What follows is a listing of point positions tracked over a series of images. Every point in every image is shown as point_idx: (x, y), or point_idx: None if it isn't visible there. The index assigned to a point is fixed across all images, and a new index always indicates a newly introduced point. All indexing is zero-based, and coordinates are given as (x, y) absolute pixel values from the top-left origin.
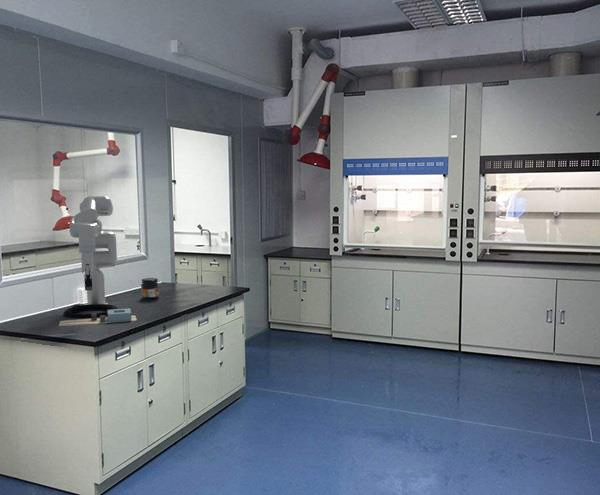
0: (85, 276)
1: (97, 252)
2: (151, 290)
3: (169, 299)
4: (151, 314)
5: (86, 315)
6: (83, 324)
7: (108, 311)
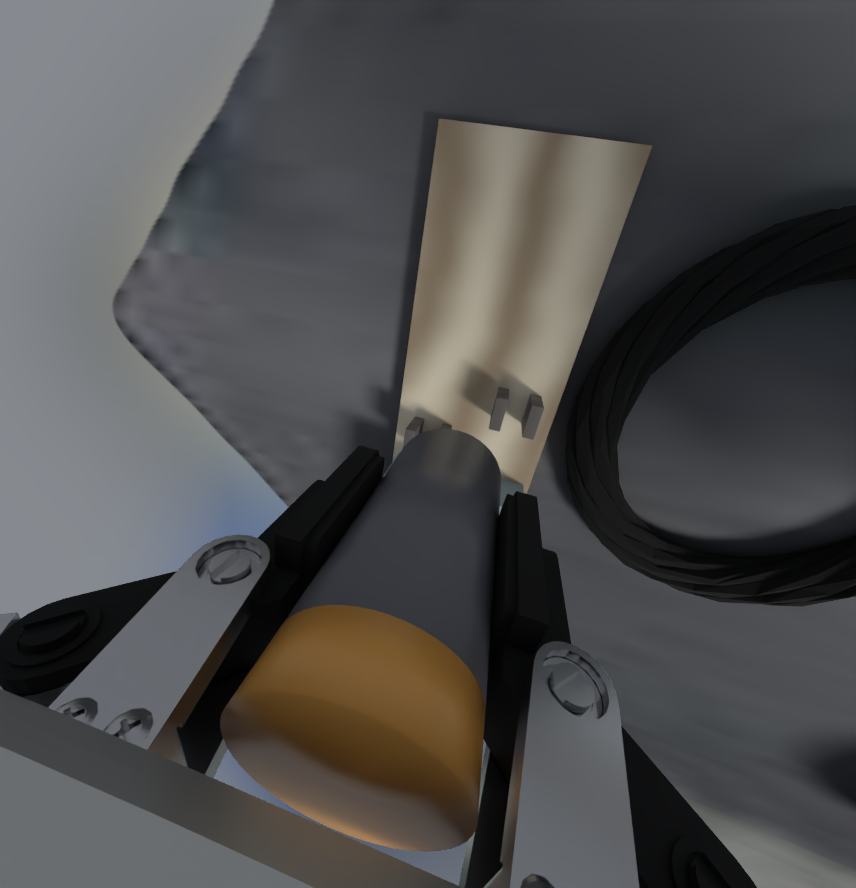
0: (159, 597)
1: None
2: None
3: (798, 824)
4: None
5: (603, 377)
6: (413, 316)
7: None
